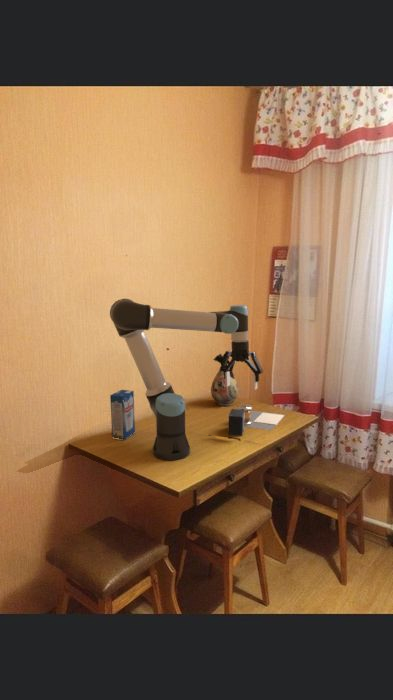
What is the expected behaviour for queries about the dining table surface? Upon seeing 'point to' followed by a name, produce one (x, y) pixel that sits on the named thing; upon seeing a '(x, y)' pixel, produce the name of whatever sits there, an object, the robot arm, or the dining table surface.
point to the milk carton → (122, 414)
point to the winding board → (264, 420)
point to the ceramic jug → (224, 385)
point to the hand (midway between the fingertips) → (241, 387)
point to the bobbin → (246, 413)
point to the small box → (236, 422)
